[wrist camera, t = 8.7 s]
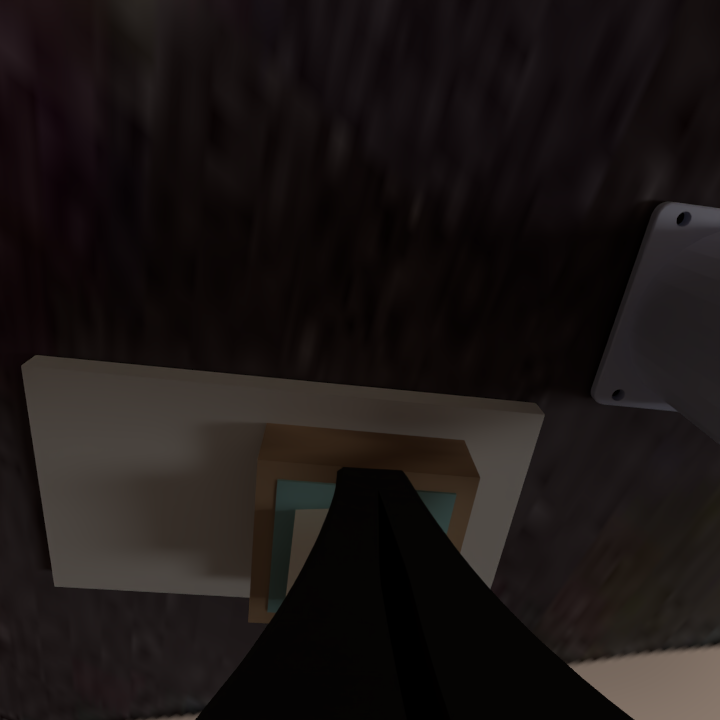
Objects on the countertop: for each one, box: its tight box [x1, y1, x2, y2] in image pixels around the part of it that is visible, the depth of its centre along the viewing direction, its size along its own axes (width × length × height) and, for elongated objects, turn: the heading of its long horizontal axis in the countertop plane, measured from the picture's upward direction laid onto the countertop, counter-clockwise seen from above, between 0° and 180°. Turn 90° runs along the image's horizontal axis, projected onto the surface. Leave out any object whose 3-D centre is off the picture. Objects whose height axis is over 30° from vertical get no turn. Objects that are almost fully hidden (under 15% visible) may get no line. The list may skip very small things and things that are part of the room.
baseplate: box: [21, 355, 545, 598], centre depth 22 cm, size 20×11×1 cm, turn 83°
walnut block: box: [248, 423, 480, 623], centre depth 20 cm, size 8×8×3 cm
